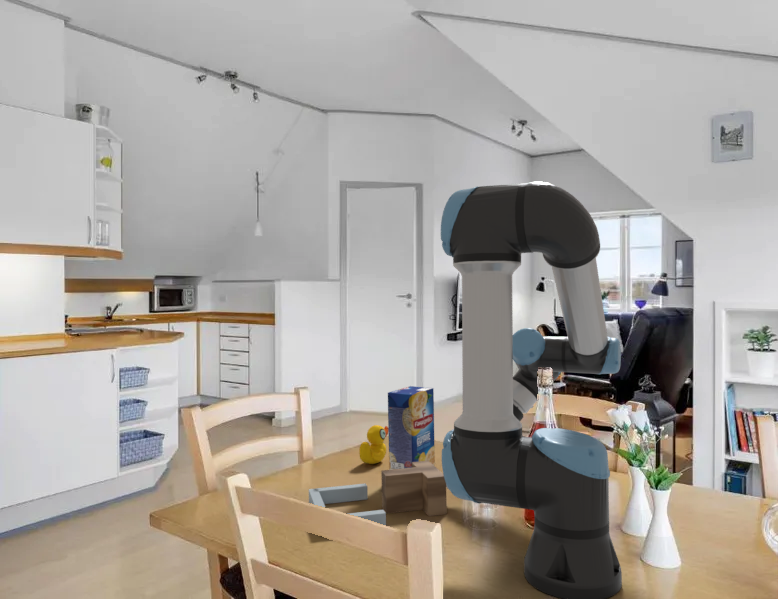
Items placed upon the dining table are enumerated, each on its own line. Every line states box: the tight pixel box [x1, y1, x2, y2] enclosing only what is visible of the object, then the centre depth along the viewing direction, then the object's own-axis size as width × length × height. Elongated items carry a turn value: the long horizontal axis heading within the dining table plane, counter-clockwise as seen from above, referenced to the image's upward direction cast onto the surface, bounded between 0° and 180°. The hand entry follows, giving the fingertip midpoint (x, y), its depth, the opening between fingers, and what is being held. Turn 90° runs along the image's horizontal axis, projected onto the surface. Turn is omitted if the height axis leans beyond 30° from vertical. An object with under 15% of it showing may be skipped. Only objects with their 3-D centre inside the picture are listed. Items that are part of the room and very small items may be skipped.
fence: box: [308, 483, 387, 526], centre depth 127 cm, size 19×13×3 cm
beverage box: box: [387, 385, 436, 470], centre depth 151 cm, size 7×11×22 cm, turn 147°
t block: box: [380, 461, 448, 517], centre depth 131 cm, size 12×12×8 cm
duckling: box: [358, 424, 389, 465], centre depth 165 cm, size 11×5×10 cm, turn 143°
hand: (444, 485), depth 133 cm, fingers closed
